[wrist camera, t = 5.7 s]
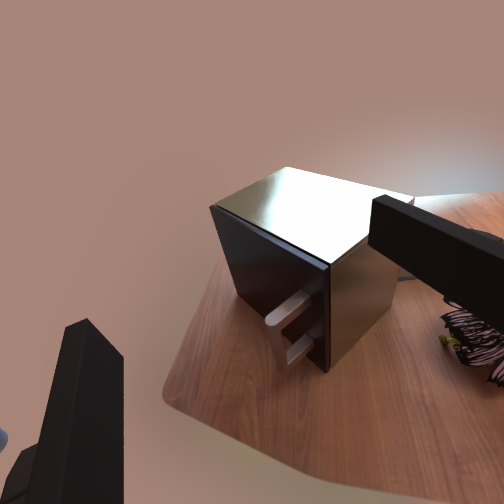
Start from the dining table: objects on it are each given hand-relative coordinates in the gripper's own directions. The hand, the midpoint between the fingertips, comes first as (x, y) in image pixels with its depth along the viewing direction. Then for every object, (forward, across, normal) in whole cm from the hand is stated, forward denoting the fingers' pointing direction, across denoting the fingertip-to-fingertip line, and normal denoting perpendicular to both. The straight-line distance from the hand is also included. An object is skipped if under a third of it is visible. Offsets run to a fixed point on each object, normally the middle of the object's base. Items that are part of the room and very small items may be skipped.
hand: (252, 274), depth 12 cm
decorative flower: (+1, +32, -36) cm, 49 cm away
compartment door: (+21, +4, -36) cm, 42 cm away
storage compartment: (+24, +16, -36) cm, 46 cm away
